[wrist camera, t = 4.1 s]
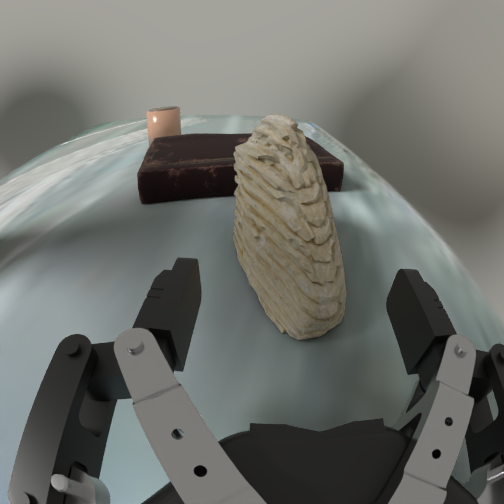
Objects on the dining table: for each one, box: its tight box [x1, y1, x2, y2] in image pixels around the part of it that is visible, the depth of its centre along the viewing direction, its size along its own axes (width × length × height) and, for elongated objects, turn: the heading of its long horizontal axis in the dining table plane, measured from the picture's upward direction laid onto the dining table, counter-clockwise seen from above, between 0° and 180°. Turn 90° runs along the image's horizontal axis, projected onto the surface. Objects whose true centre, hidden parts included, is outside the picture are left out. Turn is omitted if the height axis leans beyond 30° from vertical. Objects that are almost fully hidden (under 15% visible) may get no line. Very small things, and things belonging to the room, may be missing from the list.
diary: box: [137, 134, 344, 204], centre depth 40 cm, size 19×25×5 cm
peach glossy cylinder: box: [147, 107, 181, 147], centre depth 54 cm, size 7×7×8 cm
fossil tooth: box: [233, 114, 347, 340], centre depth 19 cm, size 12×6×15 cm
